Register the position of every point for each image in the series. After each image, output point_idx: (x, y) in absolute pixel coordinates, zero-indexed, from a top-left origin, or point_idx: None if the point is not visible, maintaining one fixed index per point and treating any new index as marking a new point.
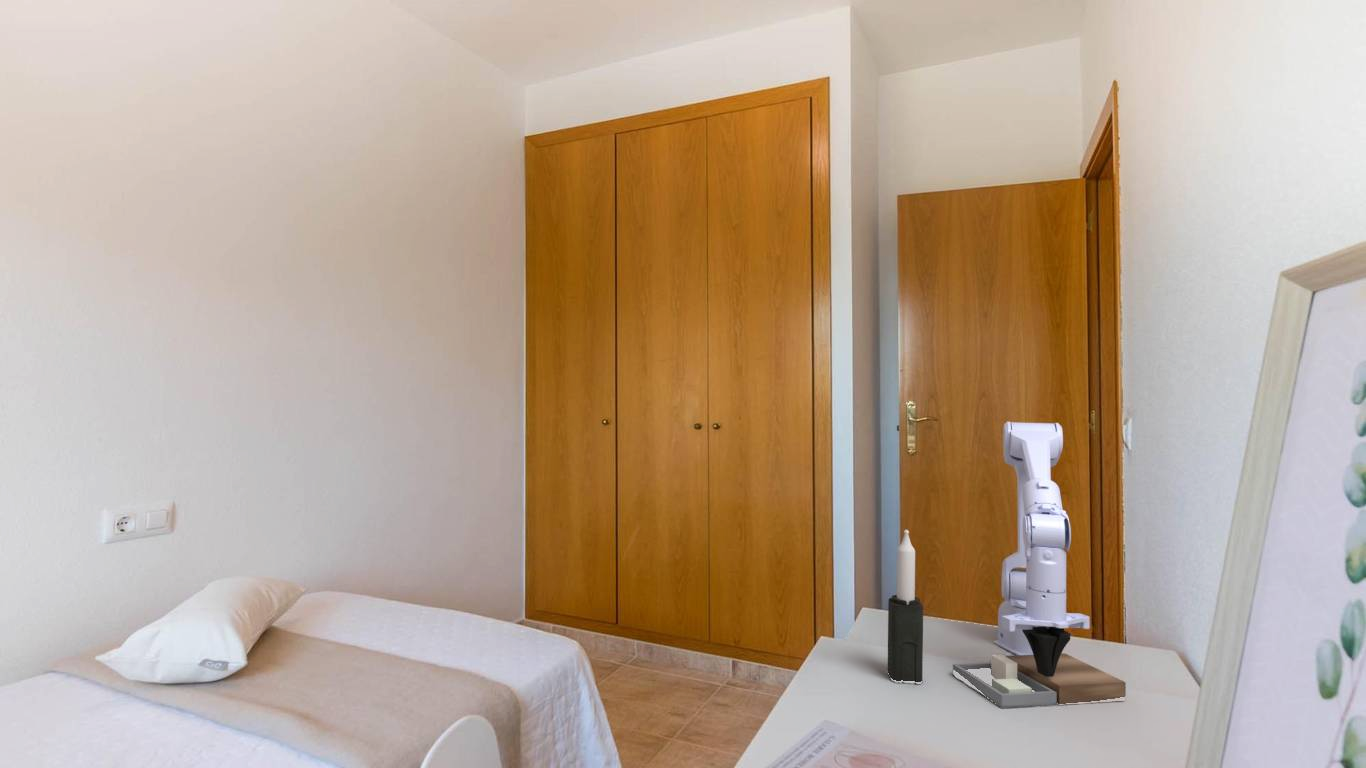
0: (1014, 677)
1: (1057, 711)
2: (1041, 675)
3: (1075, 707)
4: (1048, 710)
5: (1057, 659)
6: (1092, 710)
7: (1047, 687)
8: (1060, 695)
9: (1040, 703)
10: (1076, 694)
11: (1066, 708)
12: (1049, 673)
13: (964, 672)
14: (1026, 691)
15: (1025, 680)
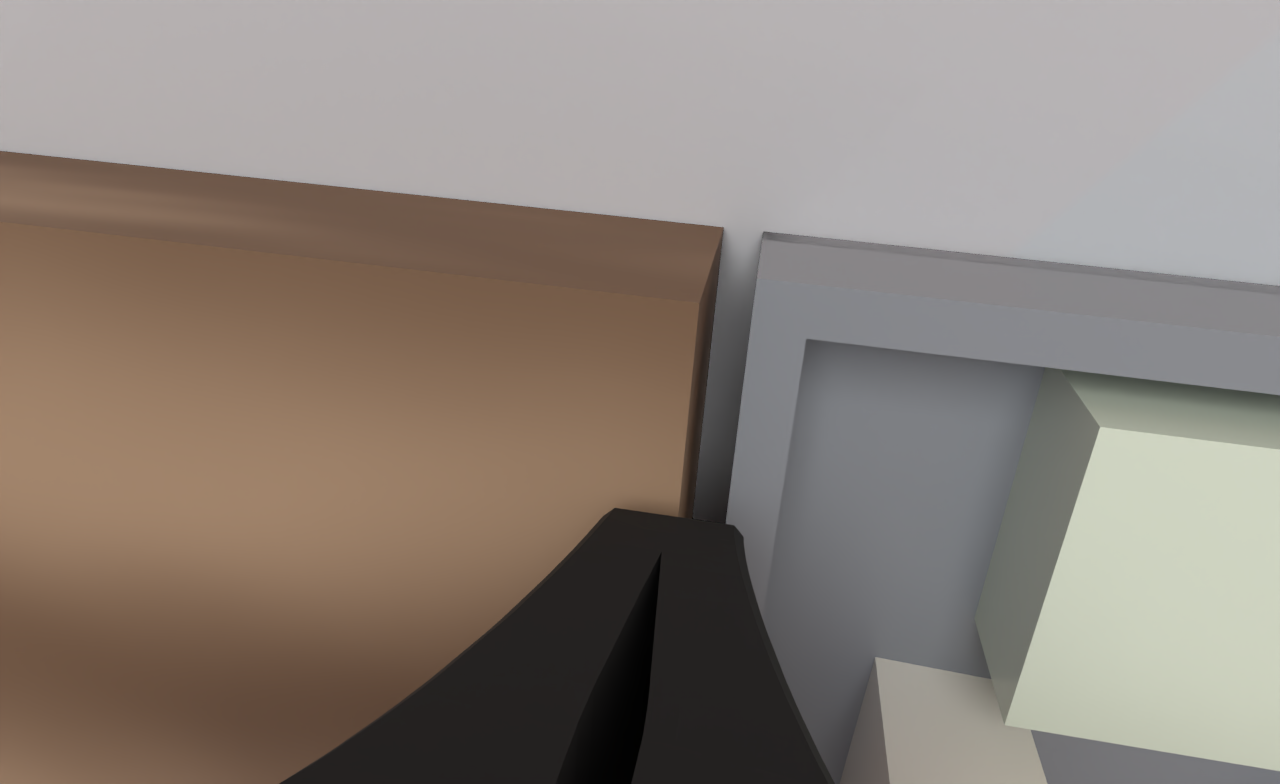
0: (922, 756)
1: (902, 85)
2: None
3: (564, 137)
4: (996, 139)
5: (500, 654)
6: (416, 12)
7: (739, 441)
8: (696, 256)
9: (1008, 265)
10: (448, 227)
11: (702, 137)
12: (692, 540)
13: None
14: (1177, 419)
15: None
